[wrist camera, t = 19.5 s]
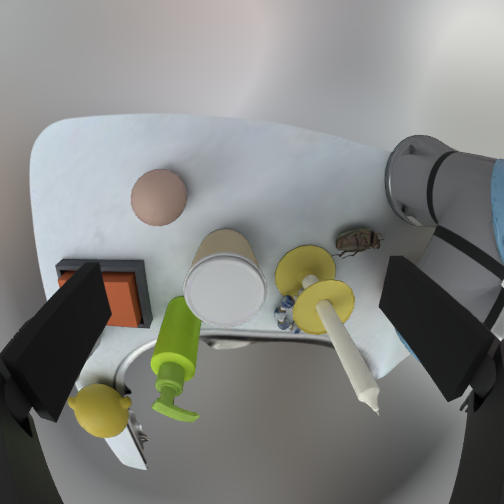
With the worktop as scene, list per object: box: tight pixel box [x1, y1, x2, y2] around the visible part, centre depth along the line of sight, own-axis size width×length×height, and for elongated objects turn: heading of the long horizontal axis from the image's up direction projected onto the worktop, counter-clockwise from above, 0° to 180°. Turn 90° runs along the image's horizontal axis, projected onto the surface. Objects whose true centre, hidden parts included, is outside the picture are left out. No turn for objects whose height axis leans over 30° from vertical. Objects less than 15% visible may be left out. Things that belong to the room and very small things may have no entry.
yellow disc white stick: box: [275, 245, 379, 415], centre depth 31 cm, size 10×10×27 cm
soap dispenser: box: [151, 297, 201, 422], centre depth 35 cm, size 6×7×20 cm
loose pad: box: [102, 271, 142, 327], centre depth 40 cm, size 6×8×4 cm
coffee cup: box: [183, 229, 267, 327], centre depth 36 cm, size 9×9×12 cm
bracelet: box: [274, 288, 304, 334], centre depth 44 cm, size 10×10×2 cm
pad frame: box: [55, 259, 153, 328], centre depth 41 cm, size 16×11×3 cm
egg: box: [131, 169, 187, 226], centre depth 33 cm, size 7×7×8 cm
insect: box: [330, 228, 384, 259], centre depth 40 cm, size 5×9×3 cm
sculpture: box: [68, 384, 132, 438], centre depth 46 cm, size 15×13×13 cm
